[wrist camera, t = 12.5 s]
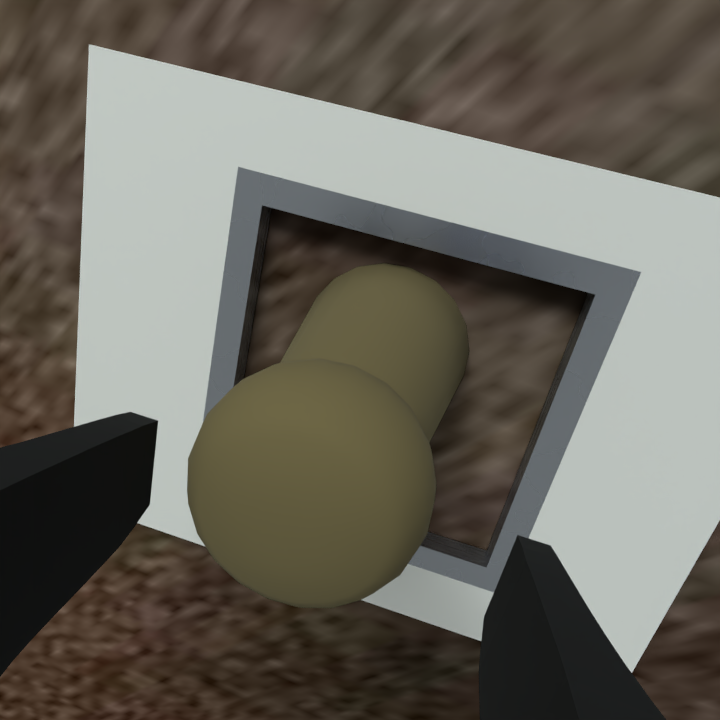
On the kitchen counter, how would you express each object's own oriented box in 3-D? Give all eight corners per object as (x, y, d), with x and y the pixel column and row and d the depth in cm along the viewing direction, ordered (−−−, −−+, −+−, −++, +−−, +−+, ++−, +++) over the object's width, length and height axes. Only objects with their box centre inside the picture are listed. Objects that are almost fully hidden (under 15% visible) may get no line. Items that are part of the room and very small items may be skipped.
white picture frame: (860, 232, 16) (882, 237, 15) (616, 668, 23) (622, 689, 22) (108, 49, 19) (89, 44, 18) (85, 488, 26) (71, 500, 25)
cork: (401, 451, 22) (328, 706, 12) (275, 357, 22) (89, 535, 11) (505, 333, 19) (526, 526, 9) (364, 227, 19) (229, 306, 9)
